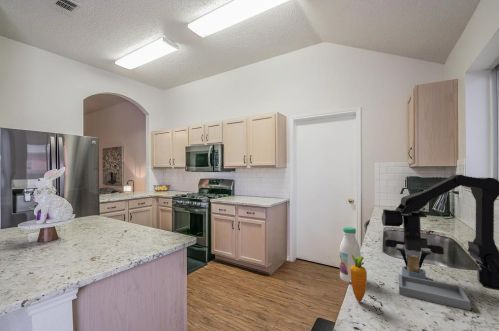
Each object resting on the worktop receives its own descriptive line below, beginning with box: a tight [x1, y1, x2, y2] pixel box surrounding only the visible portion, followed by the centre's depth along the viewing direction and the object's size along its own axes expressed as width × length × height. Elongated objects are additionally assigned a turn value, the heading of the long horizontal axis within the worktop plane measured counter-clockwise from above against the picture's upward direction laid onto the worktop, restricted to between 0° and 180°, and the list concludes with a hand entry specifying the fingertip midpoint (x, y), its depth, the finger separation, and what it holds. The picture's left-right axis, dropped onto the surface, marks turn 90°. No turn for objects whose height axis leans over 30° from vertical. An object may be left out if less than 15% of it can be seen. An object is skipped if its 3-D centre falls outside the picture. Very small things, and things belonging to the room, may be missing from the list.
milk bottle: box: [339, 226, 362, 284], centre depth 90 cm, size 8×8×20 cm
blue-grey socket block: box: [401, 265, 427, 280], centre depth 92 cm, size 8×8×3 cm
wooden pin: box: [406, 254, 420, 273], centre depth 92 cm, size 4×4×8 cm
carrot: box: [350, 255, 368, 303], centre depth 74 cm, size 5×5×15 cm
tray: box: [398, 273, 472, 311], centre depth 78 cm, size 18×12×2 cm, turn 57°
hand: (413, 266), depth 92 cm, fingers closed on wooden pin, 4 cm apart
